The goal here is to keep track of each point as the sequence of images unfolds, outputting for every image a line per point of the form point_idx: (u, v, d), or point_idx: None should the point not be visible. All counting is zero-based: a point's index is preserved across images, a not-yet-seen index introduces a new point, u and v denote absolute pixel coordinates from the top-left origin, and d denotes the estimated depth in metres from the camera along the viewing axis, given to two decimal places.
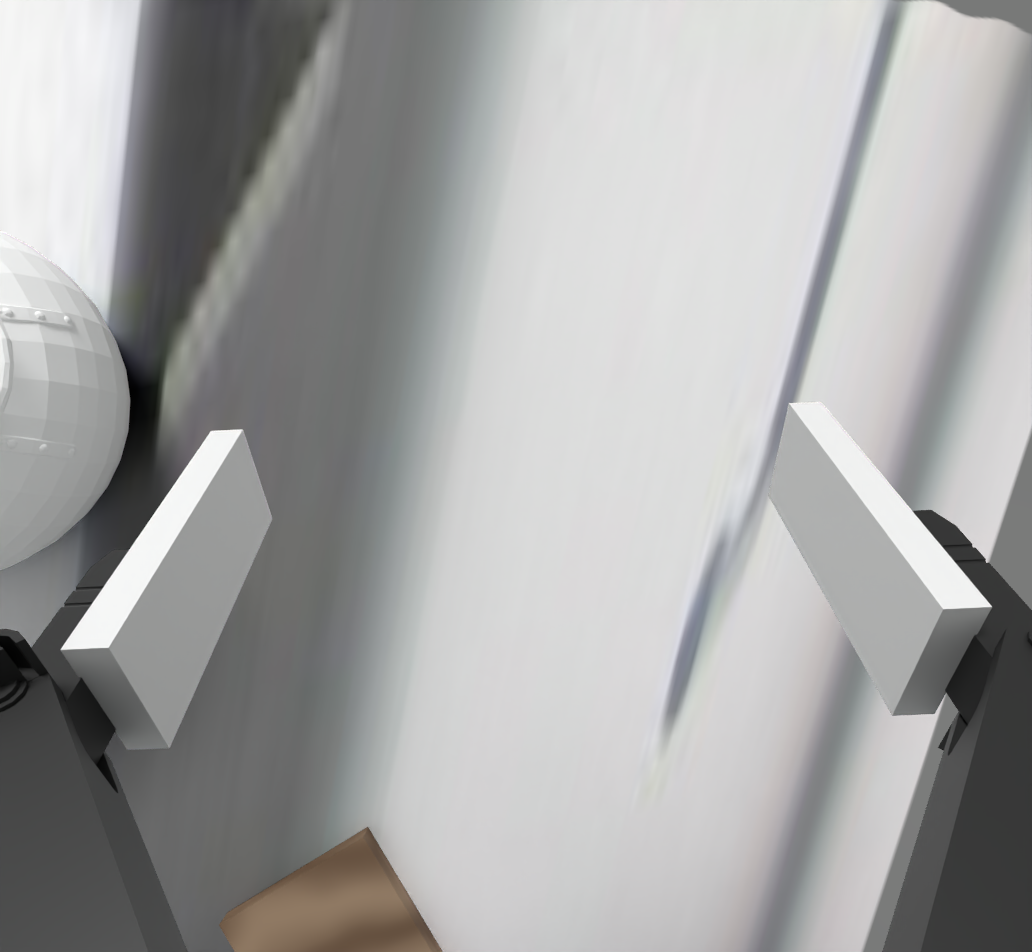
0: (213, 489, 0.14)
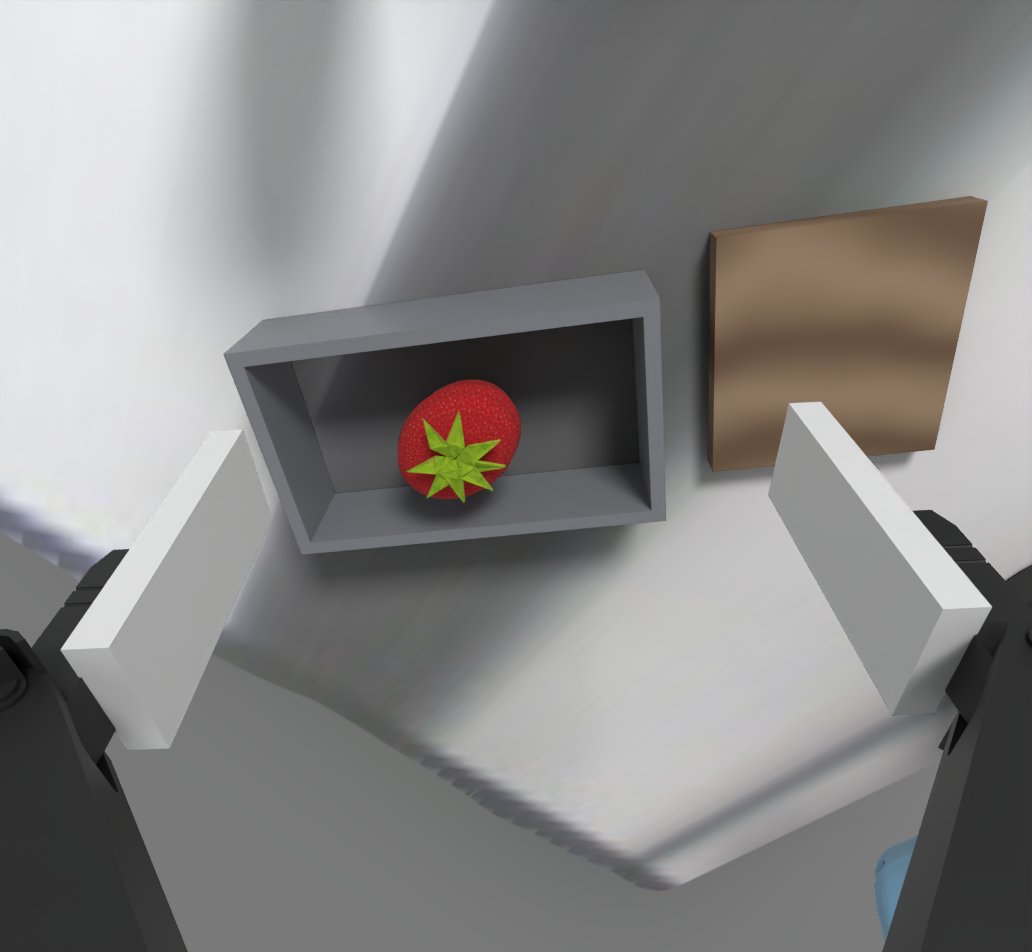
0: (213, 489, 0.14)
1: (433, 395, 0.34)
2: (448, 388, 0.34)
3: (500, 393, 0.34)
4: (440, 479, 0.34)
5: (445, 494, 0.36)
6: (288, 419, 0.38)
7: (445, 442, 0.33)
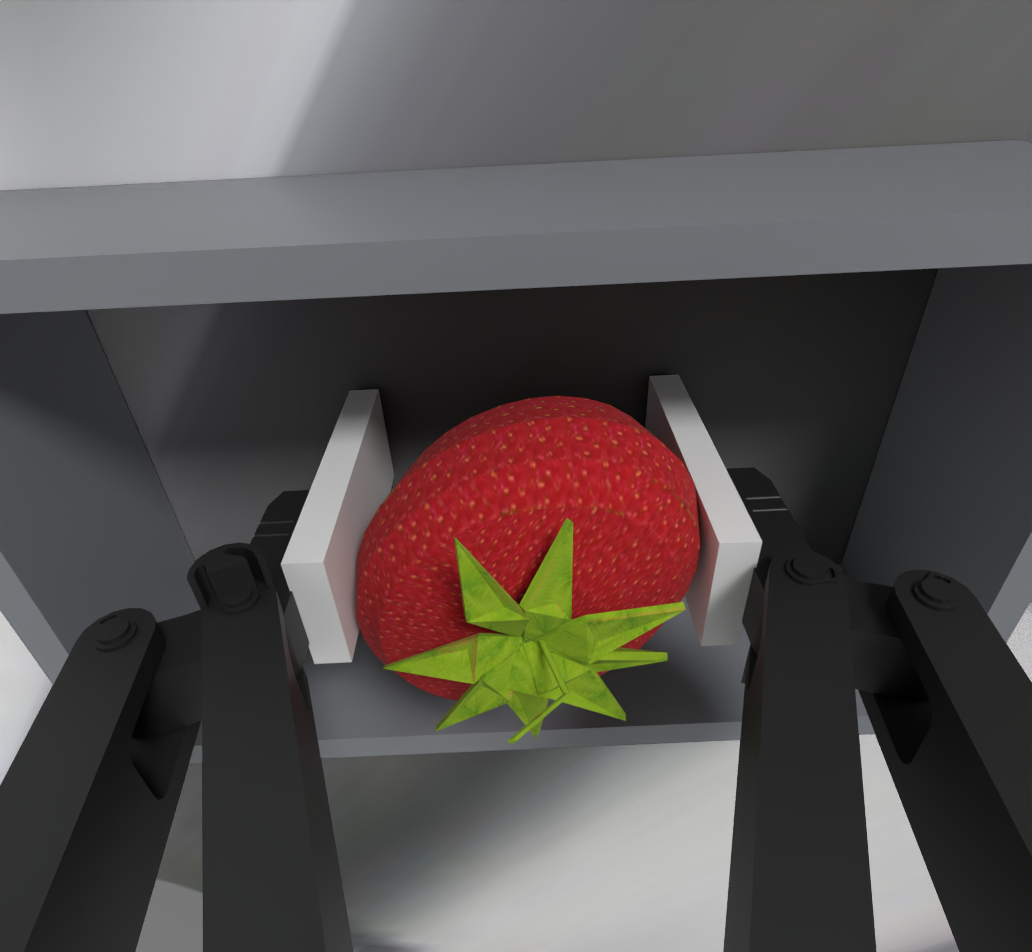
0: (366, 439, 0.15)
1: (472, 443, 0.12)
2: (518, 427, 0.12)
3: (665, 449, 0.12)
4: (484, 691, 0.12)
5: None
6: (67, 460, 0.15)
7: (517, 609, 0.10)
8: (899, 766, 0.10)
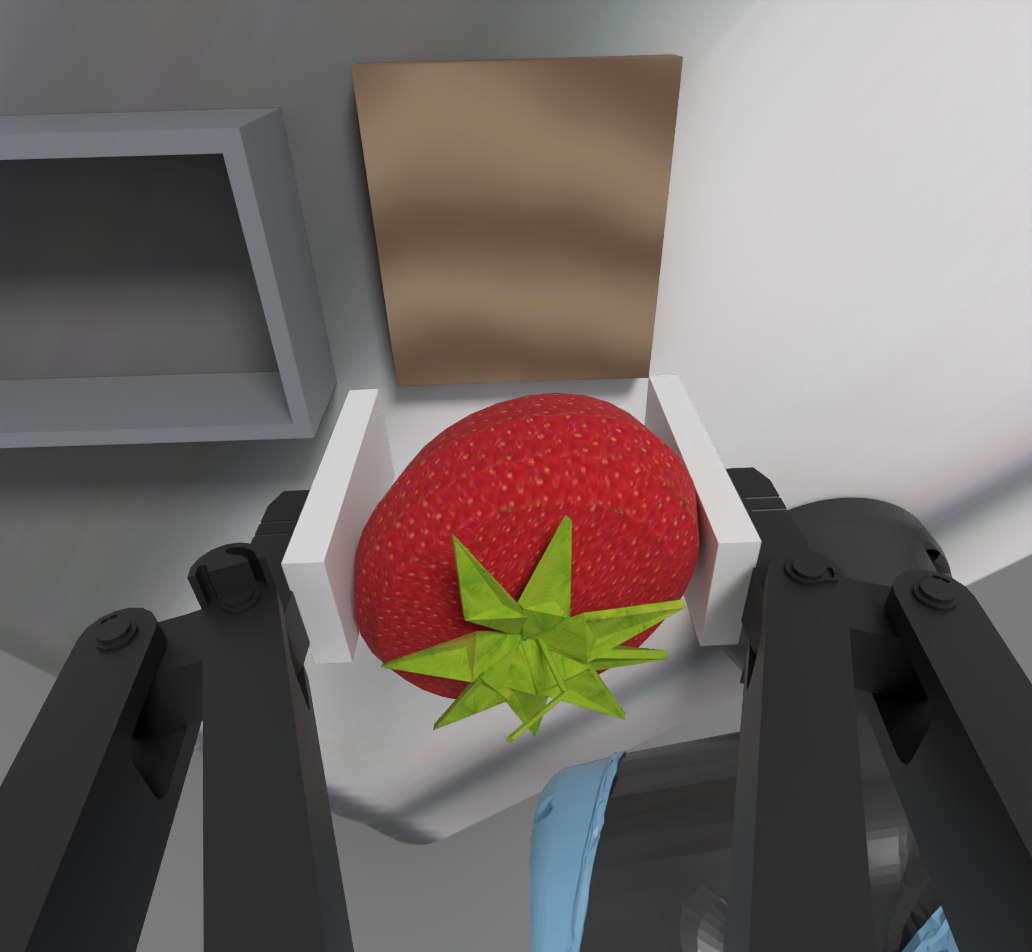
0: (366, 439, 0.15)
1: (470, 441, 0.12)
2: (517, 424, 0.12)
3: (665, 447, 0.12)
4: (482, 690, 0.12)
5: None
6: None
7: (516, 606, 0.10)
8: (898, 765, 0.10)
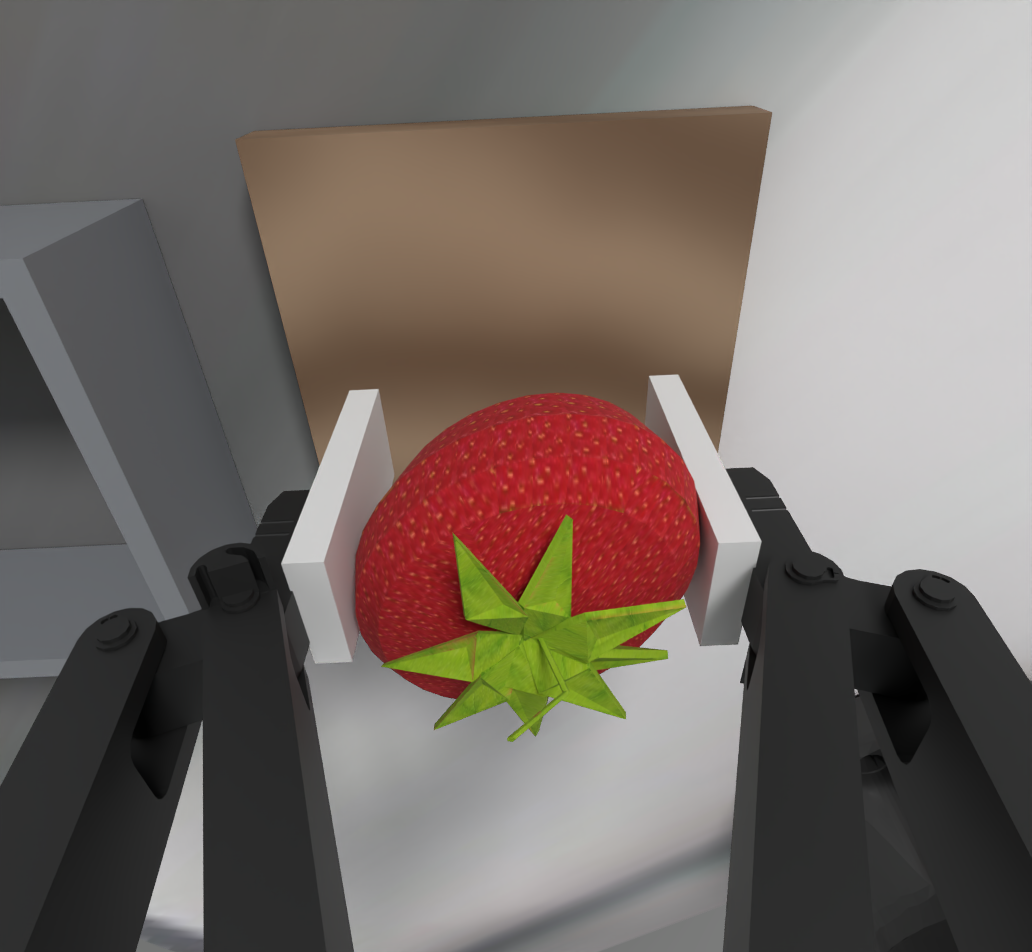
0: (366, 439, 0.15)
1: (471, 440, 0.12)
2: (518, 423, 0.12)
3: (665, 446, 0.12)
4: (482, 689, 0.12)
5: None
6: None
7: (517, 606, 0.10)
8: (899, 765, 0.10)
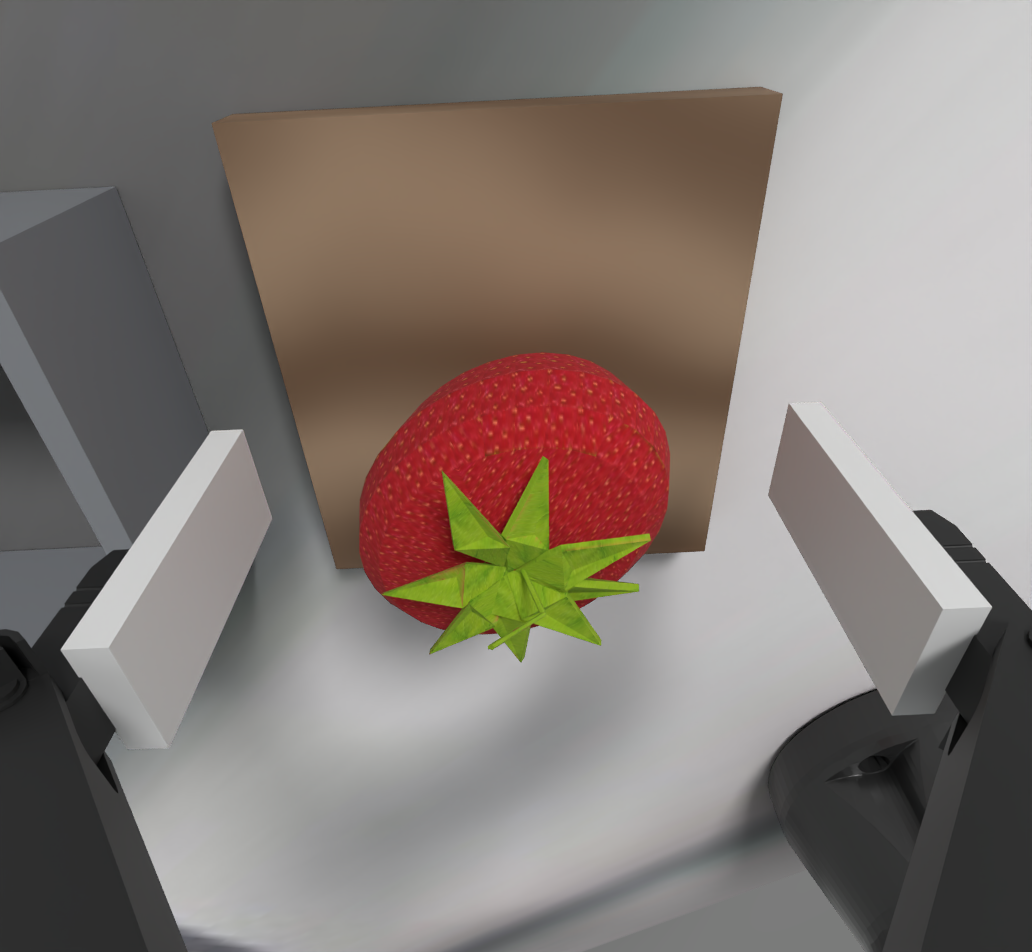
0: (213, 489, 0.14)
1: (461, 393, 0.13)
2: (503, 378, 0.13)
3: (638, 399, 0.13)
4: (472, 616, 0.13)
5: None
6: None
7: (499, 537, 0.12)
8: None
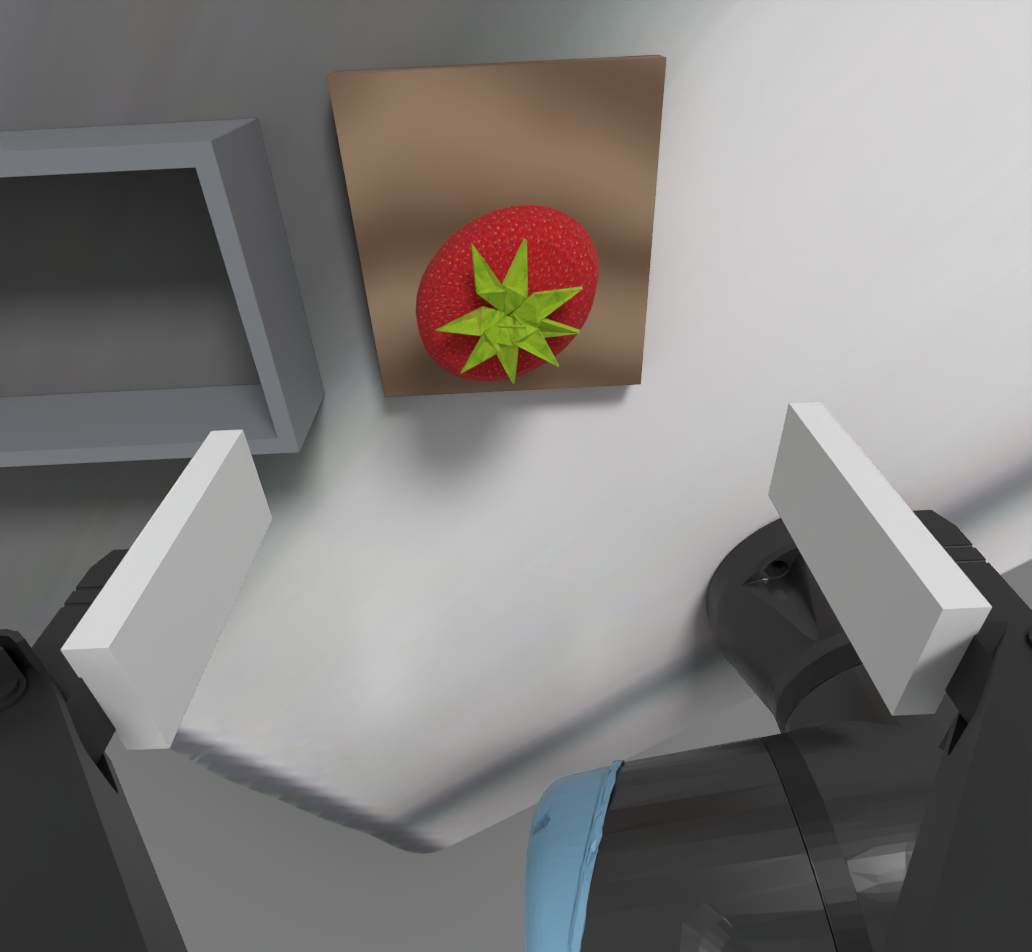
0: (213, 489, 0.14)
1: (479, 219, 0.23)
2: (502, 209, 0.23)
3: (578, 223, 0.23)
4: (485, 345, 0.23)
5: (483, 372, 0.25)
6: None
7: (500, 284, 0.22)
8: None
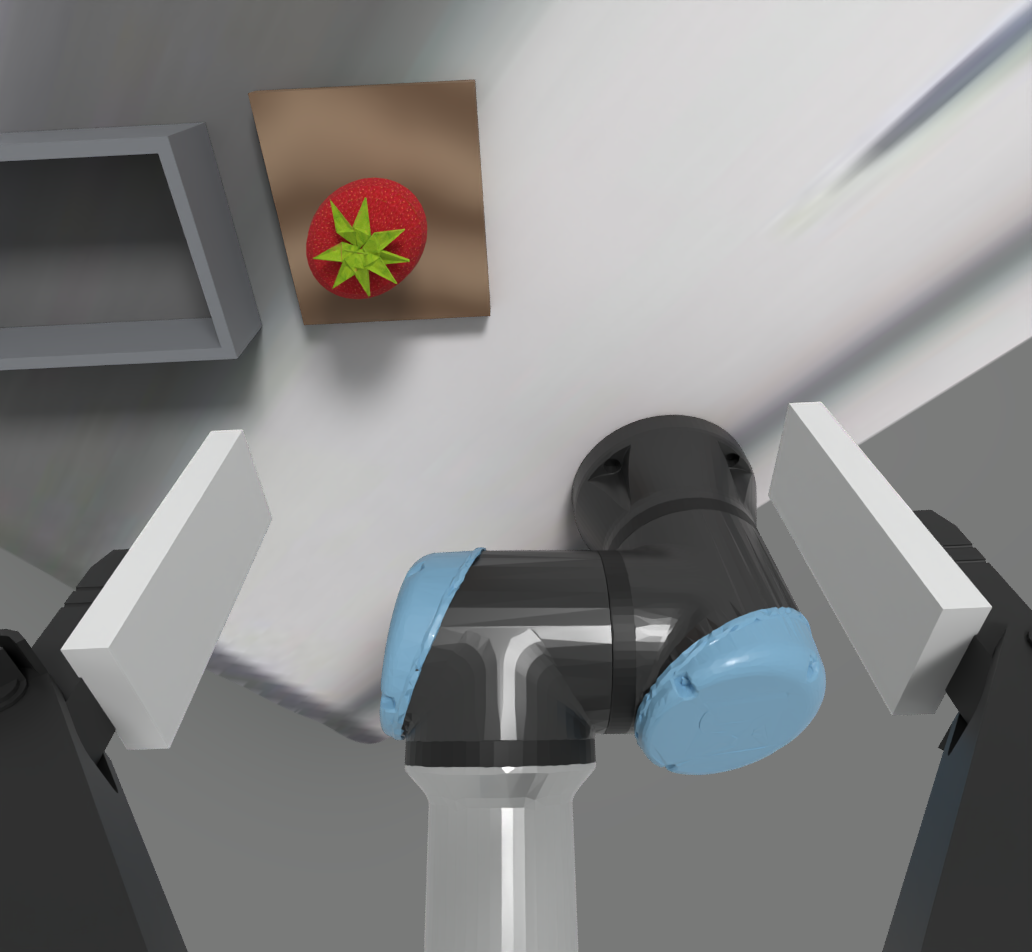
0: (213, 489, 0.14)
1: (342, 187, 0.35)
2: (357, 180, 0.35)
3: (408, 190, 0.36)
4: (346, 268, 0.35)
5: (351, 290, 0.37)
6: None
7: (351, 227, 0.34)
8: None
